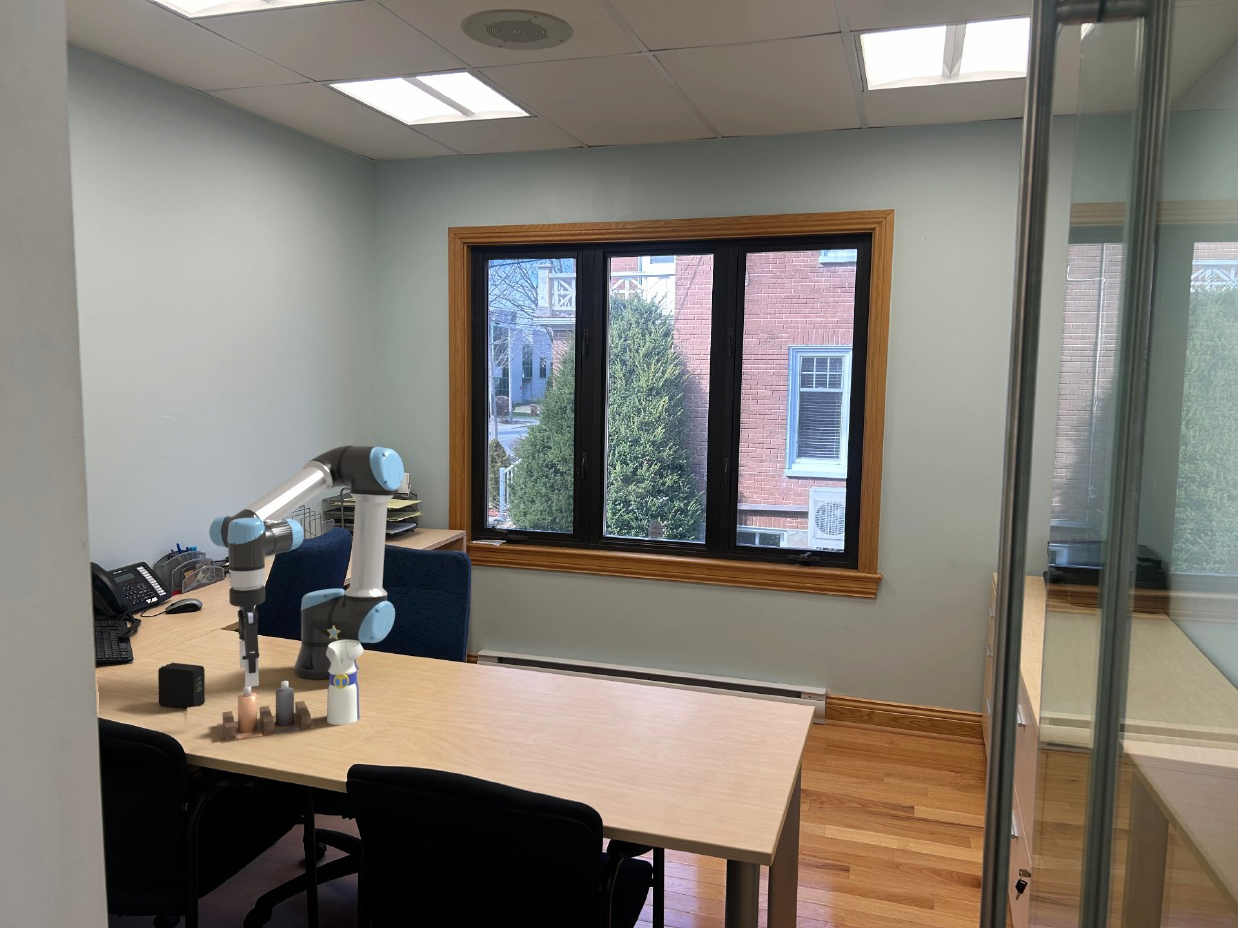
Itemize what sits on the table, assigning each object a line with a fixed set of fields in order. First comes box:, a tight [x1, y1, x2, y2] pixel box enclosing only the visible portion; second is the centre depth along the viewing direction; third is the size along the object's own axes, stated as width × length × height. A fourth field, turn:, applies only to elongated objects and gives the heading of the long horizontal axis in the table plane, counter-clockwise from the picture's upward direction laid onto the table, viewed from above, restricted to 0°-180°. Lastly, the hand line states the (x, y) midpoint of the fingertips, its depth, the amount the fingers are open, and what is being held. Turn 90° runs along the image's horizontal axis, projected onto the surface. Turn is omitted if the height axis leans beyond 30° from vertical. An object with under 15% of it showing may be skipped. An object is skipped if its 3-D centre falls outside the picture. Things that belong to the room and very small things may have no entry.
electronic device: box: [157, 662, 206, 710], centre depth 208 cm, size 4×10×10 cm, turn 79°
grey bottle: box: [275, 680, 295, 727], centre depth 196 cm, size 4×4×10 cm
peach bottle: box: [237, 686, 258, 733], centre depth 192 cm, size 4×4×10 cm
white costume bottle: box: [326, 625, 364, 726], centre depth 199 cm, size 8×9×25 cm
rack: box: [217, 700, 316, 744], centre depth 195 cm, size 20×12×4 cm, turn 119°
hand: (249, 676), depth 192 cm, fingers open, 13 cm apart
